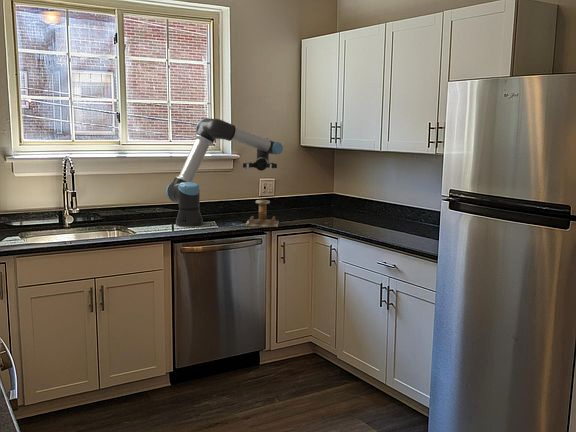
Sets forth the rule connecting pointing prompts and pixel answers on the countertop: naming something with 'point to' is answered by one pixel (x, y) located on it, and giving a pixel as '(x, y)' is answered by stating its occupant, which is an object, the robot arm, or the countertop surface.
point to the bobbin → (262, 208)
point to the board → (262, 222)
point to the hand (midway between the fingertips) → (258, 166)
